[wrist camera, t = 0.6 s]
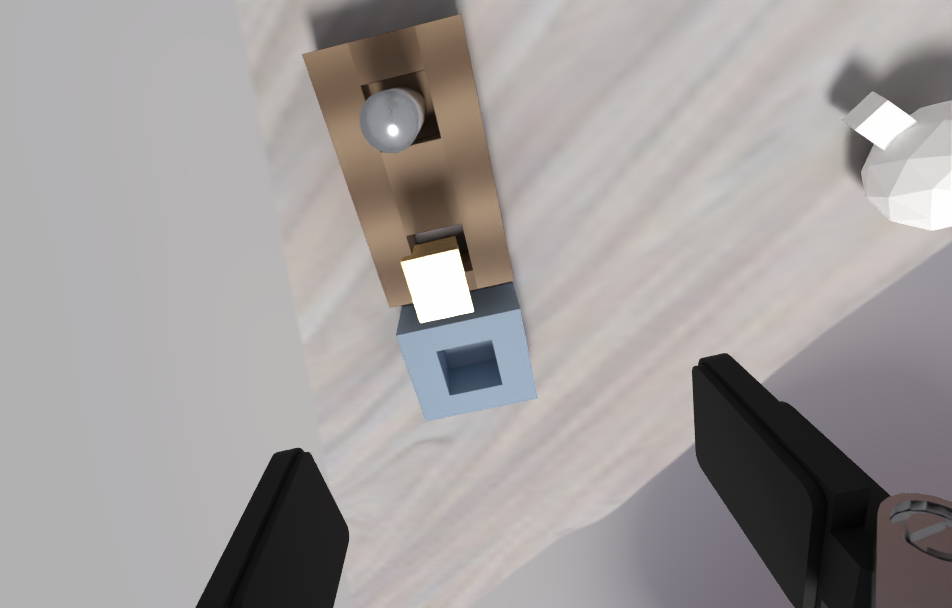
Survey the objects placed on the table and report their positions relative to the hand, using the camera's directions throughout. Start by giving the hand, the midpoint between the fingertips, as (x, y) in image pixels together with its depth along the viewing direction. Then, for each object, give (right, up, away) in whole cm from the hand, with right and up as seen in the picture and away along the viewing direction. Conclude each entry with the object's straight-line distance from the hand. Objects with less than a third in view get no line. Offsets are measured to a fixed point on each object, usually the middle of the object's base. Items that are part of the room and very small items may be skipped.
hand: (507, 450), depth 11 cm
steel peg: (-6, +17, +21) cm, 28 cm away
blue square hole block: (-2, 0, +31) cm, 31 cm away
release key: (-3, +7, +22) cm, 23 cm away
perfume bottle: (+32, +16, +25) cm, 44 cm away
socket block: (-5, +14, +24) cm, 28 cm away
